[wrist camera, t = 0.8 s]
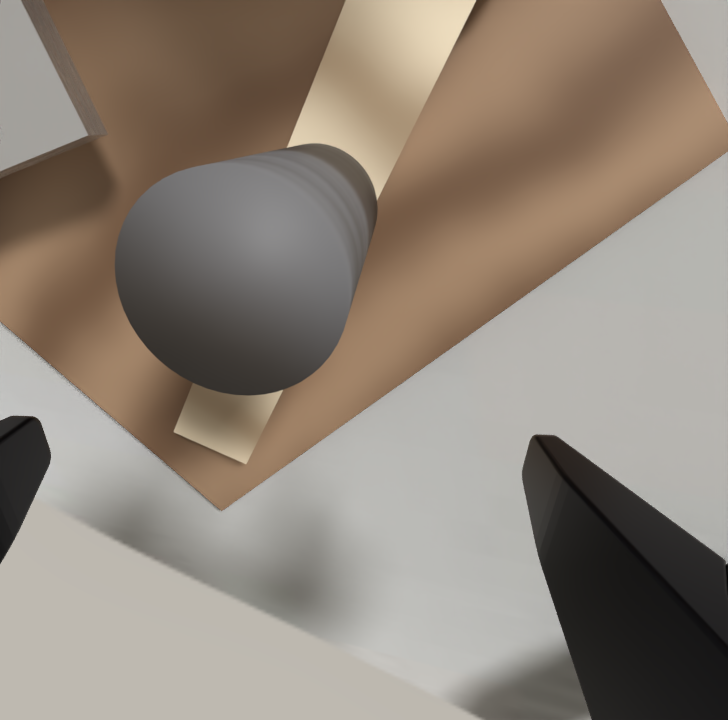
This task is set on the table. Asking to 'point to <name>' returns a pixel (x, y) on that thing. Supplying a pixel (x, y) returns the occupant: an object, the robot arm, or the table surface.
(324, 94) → the link
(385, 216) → the walnut board
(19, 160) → the steel keeper
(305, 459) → the table surface
